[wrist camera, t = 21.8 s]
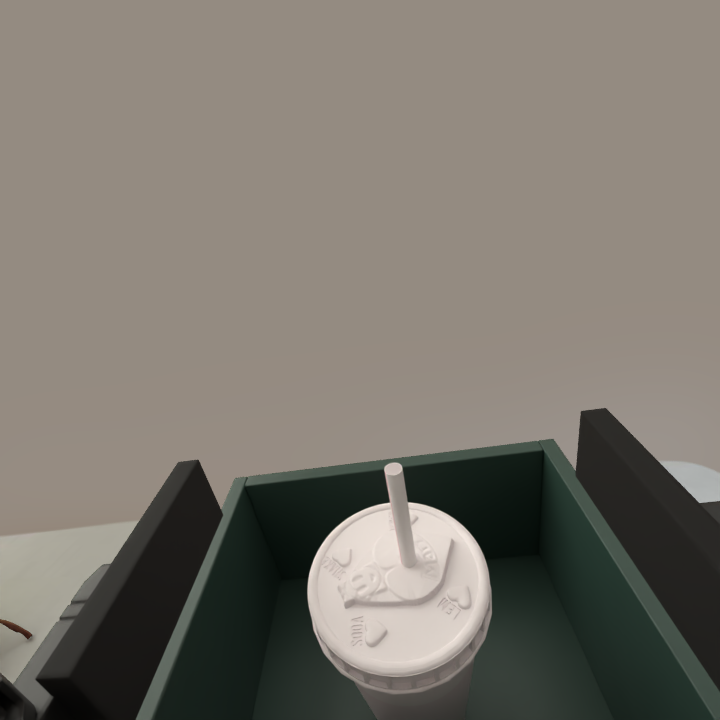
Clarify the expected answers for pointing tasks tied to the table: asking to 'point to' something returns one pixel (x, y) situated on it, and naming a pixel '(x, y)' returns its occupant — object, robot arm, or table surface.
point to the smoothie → (402, 606)
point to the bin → (508, 587)
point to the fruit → (16, 628)
